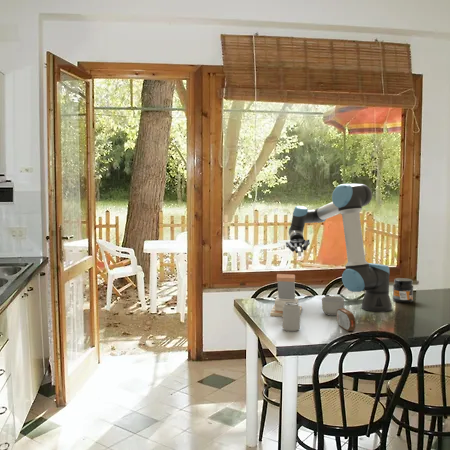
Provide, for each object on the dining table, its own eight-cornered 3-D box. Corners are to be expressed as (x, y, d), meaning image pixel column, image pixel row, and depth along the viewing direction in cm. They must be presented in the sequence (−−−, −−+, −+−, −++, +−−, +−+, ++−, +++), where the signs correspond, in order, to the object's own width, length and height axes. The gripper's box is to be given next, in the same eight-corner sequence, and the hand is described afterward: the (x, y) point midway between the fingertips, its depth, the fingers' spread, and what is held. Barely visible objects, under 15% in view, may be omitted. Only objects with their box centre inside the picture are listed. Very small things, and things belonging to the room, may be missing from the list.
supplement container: (403, 304, 295) (404, 282, 294) (388, 300, 304) (389, 278, 303) (417, 302, 300) (417, 280, 299) (401, 298, 309) (402, 277, 308)
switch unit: (274, 307, 285) (274, 294, 284) (301, 308, 282) (302, 296, 282) (270, 315, 267) (270, 302, 267) (299, 317, 265) (299, 304, 264)
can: (281, 327, 246) (281, 301, 245) (297, 327, 247) (298, 301, 246) (284, 332, 239) (284, 305, 238) (301, 332, 240) (301, 304, 239)
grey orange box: (278, 295, 276) (277, 273, 267) (295, 296, 274) (294, 274, 266) (277, 299, 273) (276, 277, 265) (295, 300, 272) (294, 278, 264)
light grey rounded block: (343, 317, 266) (344, 301, 265) (320, 316, 268) (321, 299, 267) (343, 310, 279) (343, 295, 279) (321, 309, 281) (322, 293, 281)
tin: (356, 333, 239) (356, 314, 238) (349, 333, 238) (349, 314, 237) (341, 324, 254) (342, 306, 253) (335, 324, 253) (335, 306, 252)
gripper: (309, 243, 305) (313, 259, 282) (285, 246, 306) (287, 261, 283) (308, 231, 302) (311, 245, 280) (284, 233, 304) (286, 248, 281)
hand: (299, 253), depth 282 cm, fingers closed
